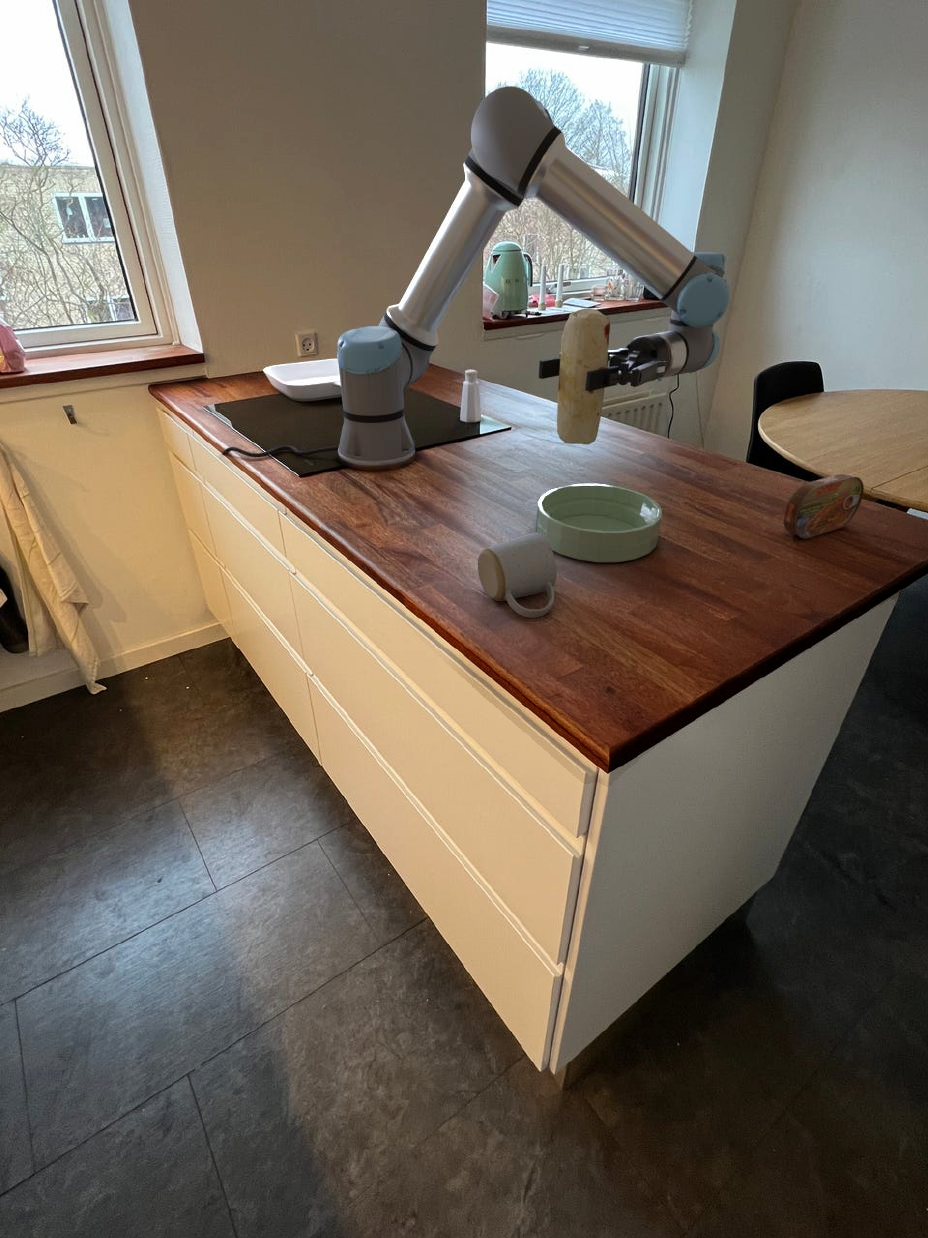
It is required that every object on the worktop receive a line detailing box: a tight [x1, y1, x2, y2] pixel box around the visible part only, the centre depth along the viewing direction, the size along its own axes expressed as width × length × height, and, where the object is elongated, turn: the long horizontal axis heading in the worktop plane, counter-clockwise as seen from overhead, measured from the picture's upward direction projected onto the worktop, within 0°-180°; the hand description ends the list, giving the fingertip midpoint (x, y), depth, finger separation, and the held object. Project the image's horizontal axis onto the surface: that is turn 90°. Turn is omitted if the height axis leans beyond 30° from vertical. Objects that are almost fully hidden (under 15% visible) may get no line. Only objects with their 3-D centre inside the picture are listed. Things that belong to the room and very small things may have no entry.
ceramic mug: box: [477, 532, 558, 619], centre depth 80 cm, size 11×8×8 cm
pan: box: [262, 358, 342, 402], centre depth 168 cm, size 27×42×5 cm, turn 32°
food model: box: [556, 307, 611, 446], centre depth 102 cm, size 10×7×20 cm
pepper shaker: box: [459, 369, 482, 423], centre depth 147 cm, size 5×5×11 cm
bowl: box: [535, 483, 663, 563], centre depth 96 cm, size 18×18×5 cm
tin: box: [783, 473, 865, 540], centre depth 97 cm, size 15×3×8 cm, turn 117°
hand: (563, 375), depth 99 cm, fingers closed on food model, 9 cm apart
